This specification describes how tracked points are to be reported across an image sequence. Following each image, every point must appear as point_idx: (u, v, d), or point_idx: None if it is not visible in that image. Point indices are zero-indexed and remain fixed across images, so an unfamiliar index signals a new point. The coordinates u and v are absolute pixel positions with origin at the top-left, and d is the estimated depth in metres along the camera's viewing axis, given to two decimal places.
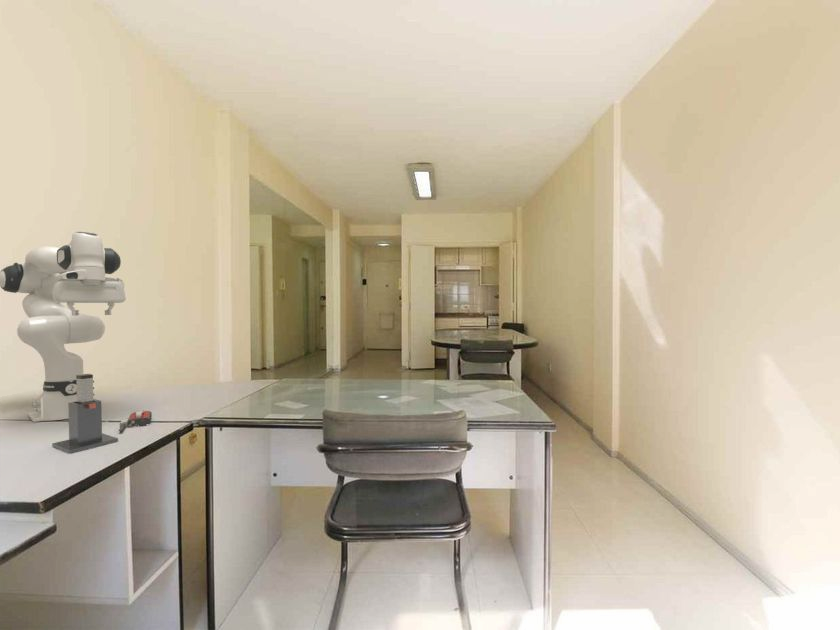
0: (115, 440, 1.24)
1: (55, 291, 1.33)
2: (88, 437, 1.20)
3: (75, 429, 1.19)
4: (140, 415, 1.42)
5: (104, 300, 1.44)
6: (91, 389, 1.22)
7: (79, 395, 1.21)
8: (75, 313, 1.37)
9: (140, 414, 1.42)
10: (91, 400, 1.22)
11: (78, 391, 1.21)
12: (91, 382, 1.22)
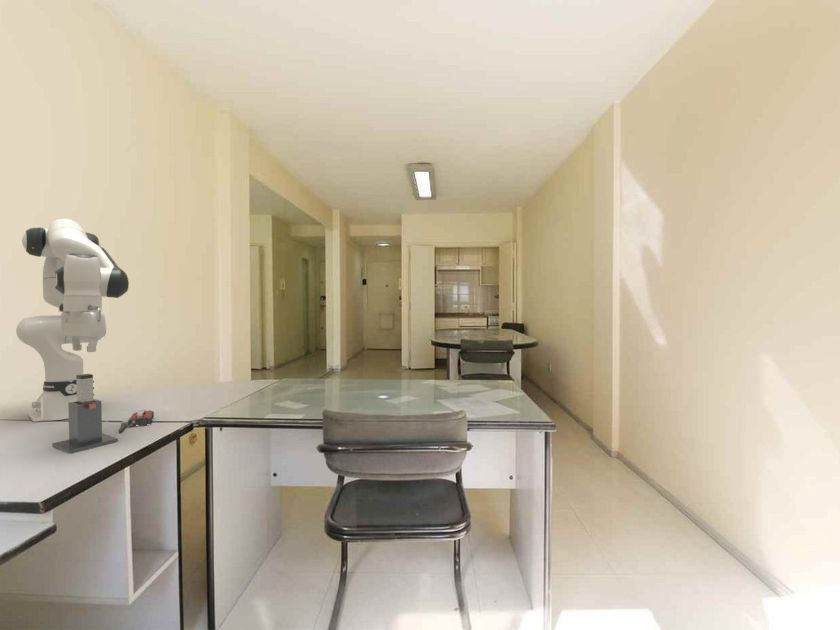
0: (115, 440, 1.24)
1: None
2: (88, 437, 1.20)
3: (75, 429, 1.19)
4: (141, 415, 1.42)
5: (81, 335, 1.19)
6: (91, 389, 1.22)
7: (79, 395, 1.21)
8: (73, 348, 1.23)
9: (141, 414, 1.42)
10: (91, 400, 1.22)
11: (78, 391, 1.21)
12: (91, 382, 1.22)
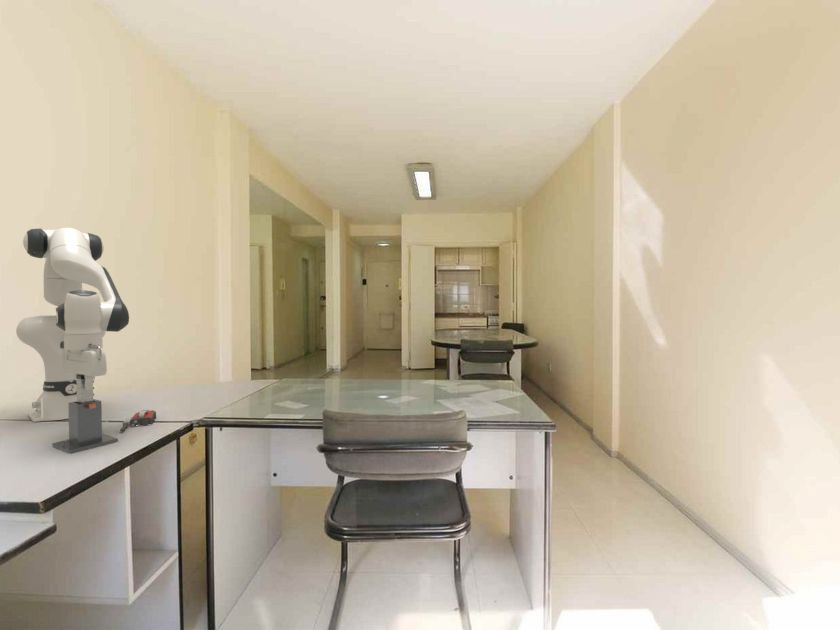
0: (115, 440, 1.24)
1: None
2: (88, 437, 1.20)
3: (75, 429, 1.19)
4: (143, 415, 1.43)
5: (82, 373, 1.19)
6: (91, 389, 1.22)
7: (79, 395, 1.21)
8: None
9: (143, 414, 1.43)
10: (91, 400, 1.22)
11: (78, 391, 1.21)
12: None
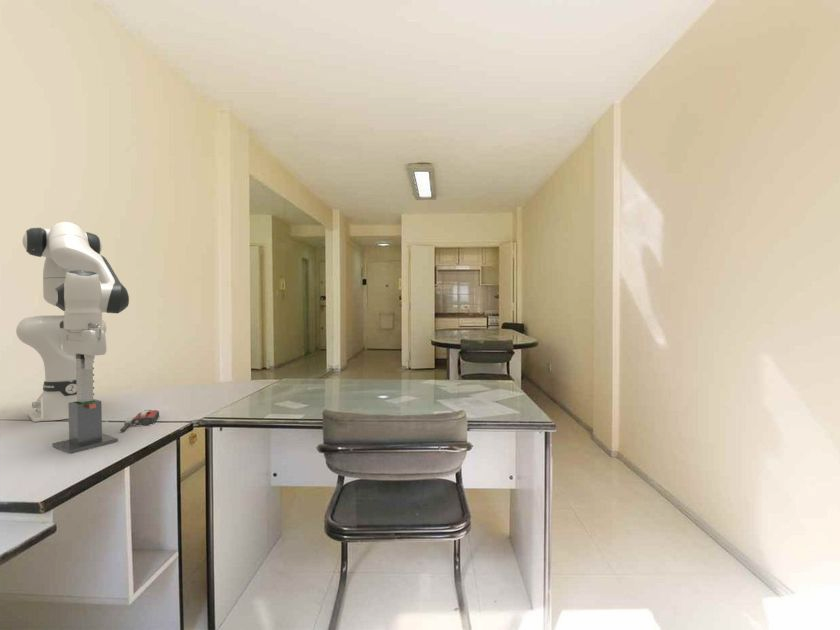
0: (115, 440, 1.24)
1: None
2: (88, 437, 1.20)
3: (75, 429, 1.19)
4: (144, 415, 1.43)
5: (82, 353, 1.19)
6: (91, 369, 1.22)
7: (79, 375, 1.20)
8: None
9: (144, 414, 1.43)
10: (91, 380, 1.22)
11: (78, 371, 1.21)
12: None
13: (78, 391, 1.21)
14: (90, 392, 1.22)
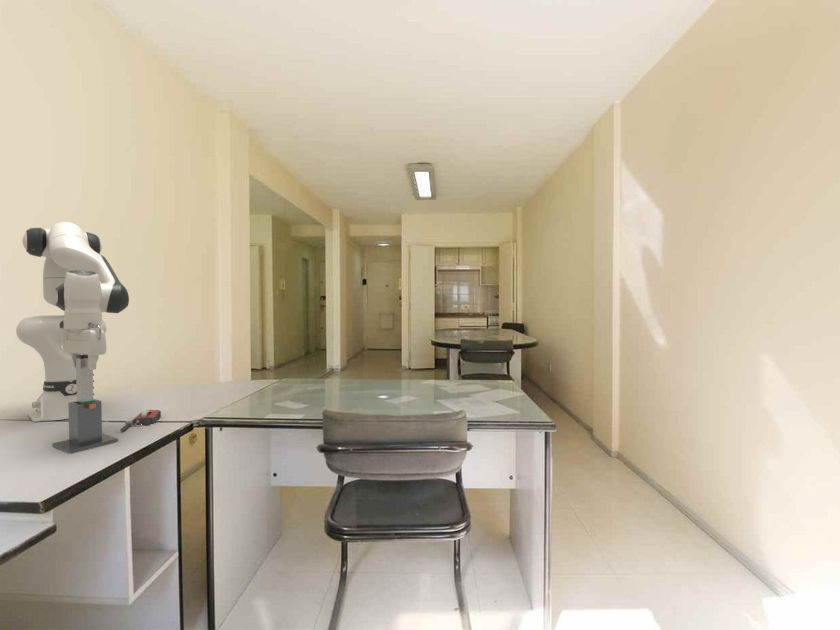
0: (115, 440, 1.24)
1: None
2: (88, 437, 1.20)
3: (75, 429, 1.19)
4: (145, 414, 1.43)
5: (82, 352, 1.19)
6: None
7: (79, 375, 1.20)
8: (73, 365, 1.24)
9: (145, 413, 1.43)
10: (91, 380, 1.22)
11: (78, 371, 1.21)
12: None
13: (78, 391, 1.21)
14: (90, 392, 1.22)
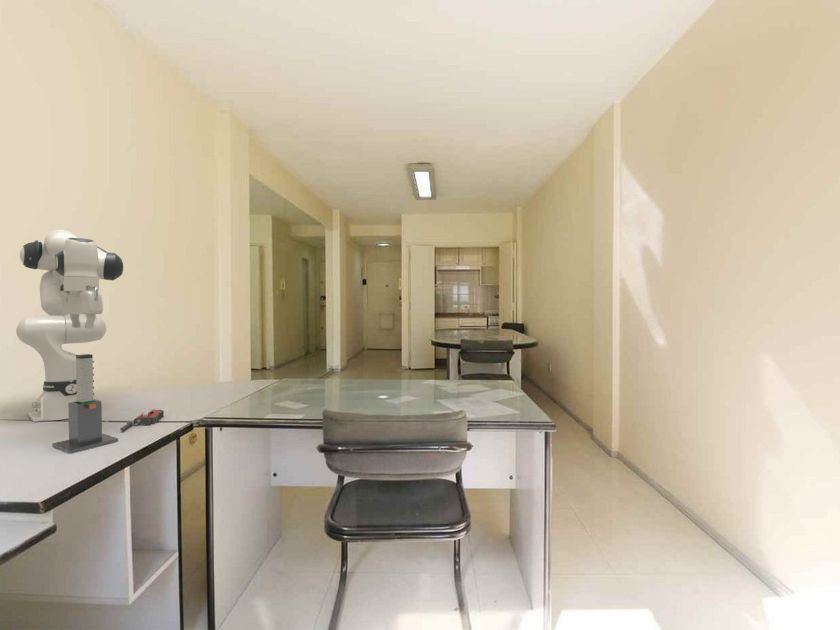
0: (115, 440, 1.24)
1: None
2: (88, 437, 1.20)
3: (75, 429, 1.19)
4: (147, 414, 1.43)
5: (80, 312, 1.30)
6: (91, 369, 1.22)
7: (79, 375, 1.20)
8: (72, 325, 1.34)
9: (147, 413, 1.43)
10: (91, 380, 1.22)
11: (78, 371, 1.21)
12: (91, 362, 1.22)
13: (78, 391, 1.21)
14: (90, 392, 1.22)
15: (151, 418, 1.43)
